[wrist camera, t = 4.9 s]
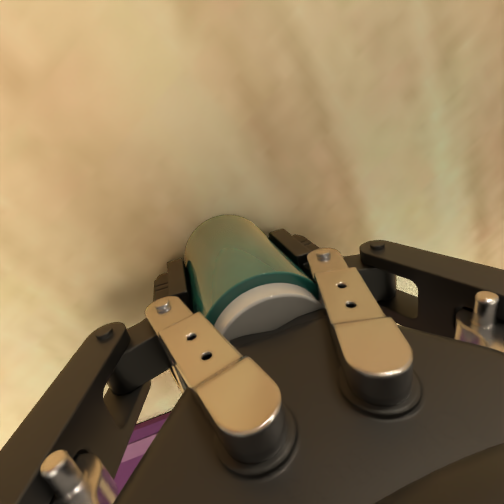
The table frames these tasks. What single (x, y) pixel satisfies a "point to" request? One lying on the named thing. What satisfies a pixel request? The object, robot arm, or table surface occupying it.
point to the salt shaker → (244, 278)
